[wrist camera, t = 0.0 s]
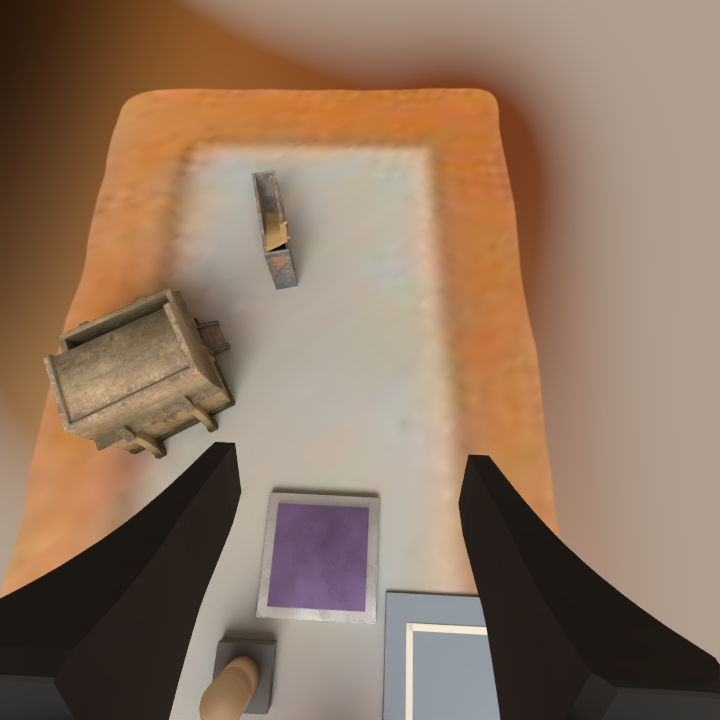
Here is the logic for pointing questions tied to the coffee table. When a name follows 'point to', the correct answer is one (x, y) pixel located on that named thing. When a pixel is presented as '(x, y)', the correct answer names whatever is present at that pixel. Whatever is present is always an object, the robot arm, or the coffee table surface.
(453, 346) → the coffee table surface
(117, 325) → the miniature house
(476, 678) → the marked board
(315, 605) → the ink pad
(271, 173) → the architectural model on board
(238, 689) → the wooden stamp
